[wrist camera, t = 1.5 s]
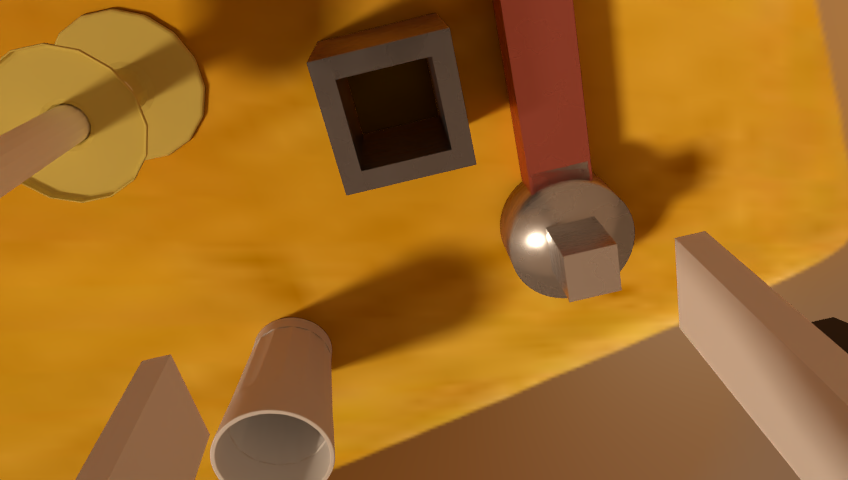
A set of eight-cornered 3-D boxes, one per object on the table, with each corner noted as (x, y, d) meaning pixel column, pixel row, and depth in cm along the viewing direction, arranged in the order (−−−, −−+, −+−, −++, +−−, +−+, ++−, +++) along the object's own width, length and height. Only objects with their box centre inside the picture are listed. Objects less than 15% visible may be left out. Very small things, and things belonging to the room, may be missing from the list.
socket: (317, 41, 41) (306, 62, 34) (435, 12, 41) (449, 27, 34) (350, 154, 45) (346, 195, 38) (459, 128, 45) (476, 164, 37)
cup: (339, 306, 50) (330, 406, 39) (344, 386, 54) (338, 498, 43) (238, 310, 50) (201, 413, 39) (250, 391, 53) (219, 506, 42)
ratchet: (454, -9, 41) (474, 2, 33) (590, -43, 40) (642, -39, 33) (509, 283, 50) (534, 344, 43) (619, 257, 50) (664, 314, 43)
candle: (68, 161, 44) (-311, 438, 19) (30, 8, 39) (-520, 117, 15) (215, 158, 44) (28, 421, 20) (193, 8, 40) (-80, 110, 16)
